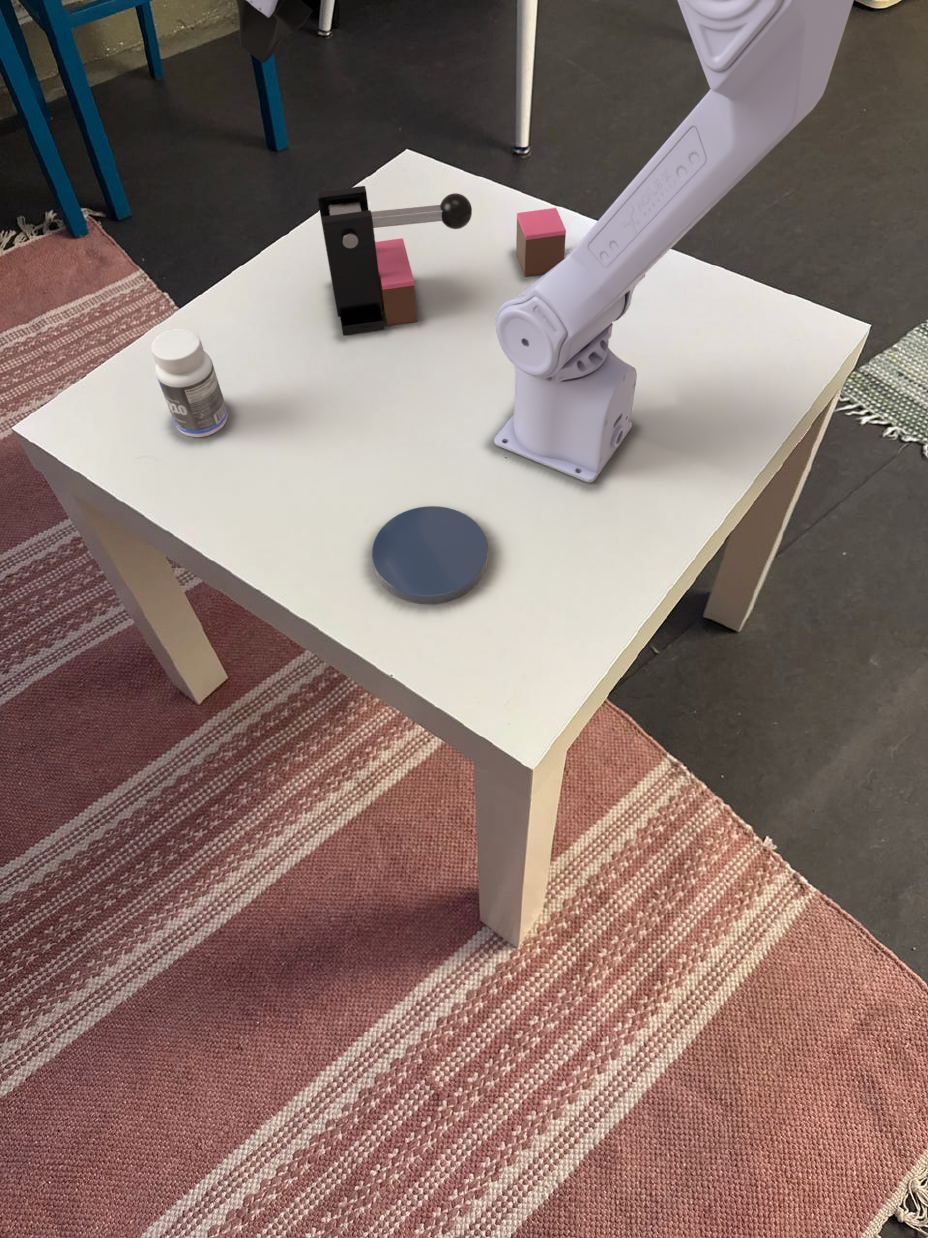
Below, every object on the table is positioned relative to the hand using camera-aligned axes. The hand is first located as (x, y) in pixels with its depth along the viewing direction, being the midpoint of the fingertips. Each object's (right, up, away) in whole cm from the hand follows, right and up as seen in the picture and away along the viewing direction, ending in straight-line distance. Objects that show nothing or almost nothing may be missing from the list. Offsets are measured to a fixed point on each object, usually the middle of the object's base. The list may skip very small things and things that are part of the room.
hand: (277, 17), depth 69 cm
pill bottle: (-9, -28, +13) cm, 32 cm away
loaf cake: (+7, -14, +21) cm, 27 cm away
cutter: (+8, -9, +16) cm, 20 cm away
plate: (+11, -40, +3) cm, 42 cm away
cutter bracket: (+4, -15, +21) cm, 26 cm away
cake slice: (+22, -9, +24) cm, 34 cm away
